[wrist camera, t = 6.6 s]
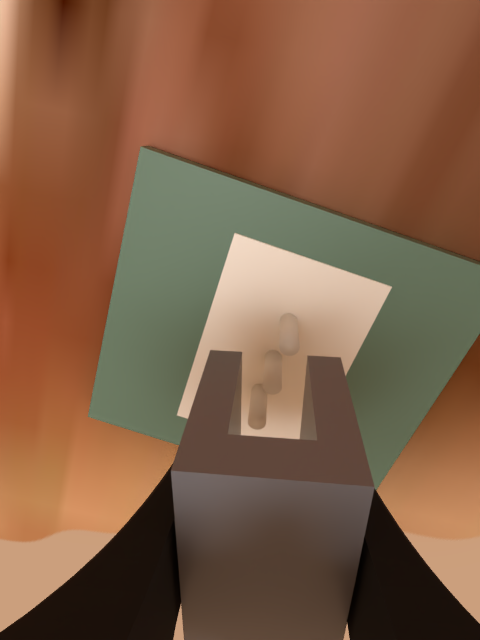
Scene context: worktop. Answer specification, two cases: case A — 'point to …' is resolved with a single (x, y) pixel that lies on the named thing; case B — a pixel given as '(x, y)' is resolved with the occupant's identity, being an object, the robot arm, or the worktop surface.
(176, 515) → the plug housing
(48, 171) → the worktop surface
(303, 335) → the board
